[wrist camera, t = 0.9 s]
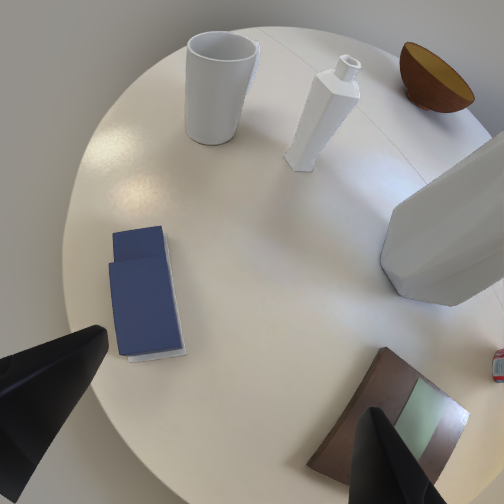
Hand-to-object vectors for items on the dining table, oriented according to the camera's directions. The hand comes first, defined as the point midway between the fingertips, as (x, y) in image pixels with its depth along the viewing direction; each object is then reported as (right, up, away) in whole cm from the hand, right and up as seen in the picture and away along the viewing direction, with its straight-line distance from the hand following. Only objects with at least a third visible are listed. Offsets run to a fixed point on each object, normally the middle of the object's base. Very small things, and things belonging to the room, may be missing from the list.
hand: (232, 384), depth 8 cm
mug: (-3, +20, +26) cm, 33 cm away
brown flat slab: (+17, -16, +15) cm, 28 cm away
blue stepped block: (-9, 0, +16) cm, 19 cm away
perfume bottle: (+6, +15, +26) cm, 30 cm away
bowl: (+36, +36, +40) cm, 65 cm away
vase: (+19, +2, +23) cm, 30 cm away
